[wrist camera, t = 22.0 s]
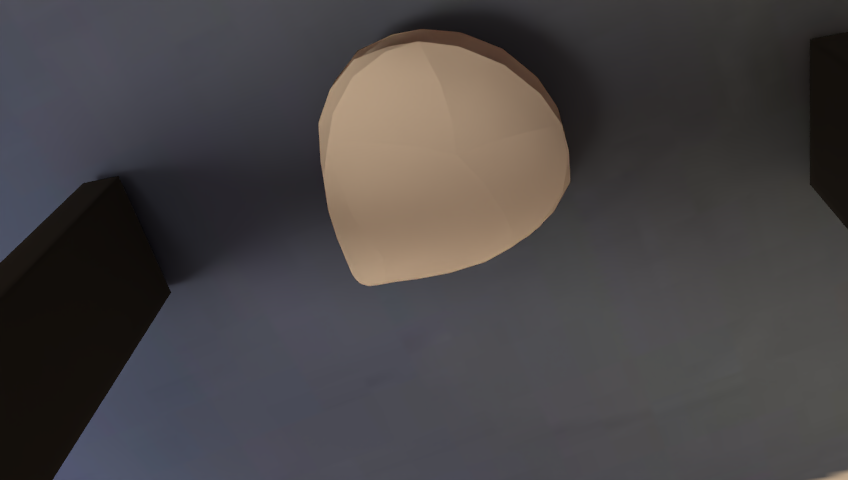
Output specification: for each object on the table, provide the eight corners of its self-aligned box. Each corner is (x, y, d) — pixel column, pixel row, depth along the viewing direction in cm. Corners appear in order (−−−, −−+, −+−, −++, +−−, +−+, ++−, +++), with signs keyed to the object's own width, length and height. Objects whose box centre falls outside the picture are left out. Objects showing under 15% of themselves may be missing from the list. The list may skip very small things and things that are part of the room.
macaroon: (605, 96, 14) (627, 152, 12) (461, 297, 16) (458, 375, 14) (392, -30, 13) (373, 5, 11) (272, 200, 15) (237, 266, 13)
